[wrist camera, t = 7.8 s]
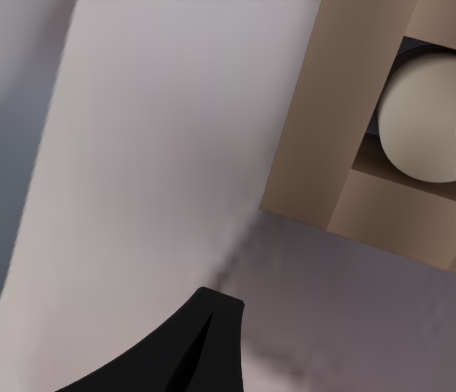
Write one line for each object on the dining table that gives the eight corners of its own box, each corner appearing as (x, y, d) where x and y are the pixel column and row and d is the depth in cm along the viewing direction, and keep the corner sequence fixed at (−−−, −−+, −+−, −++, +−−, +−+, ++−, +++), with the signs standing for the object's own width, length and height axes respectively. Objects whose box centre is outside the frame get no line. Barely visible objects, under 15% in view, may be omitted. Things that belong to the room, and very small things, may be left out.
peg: (498, 61, 17) (542, 83, 13) (451, 153, 19) (476, 197, 15) (396, 34, 17) (409, 47, 13) (360, 126, 19) (362, 162, 15)
